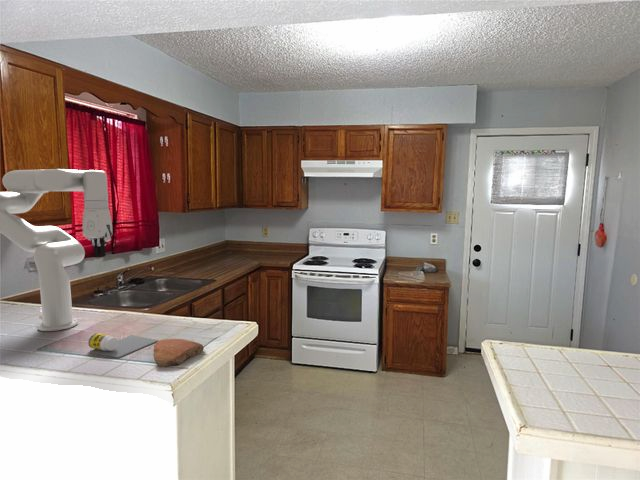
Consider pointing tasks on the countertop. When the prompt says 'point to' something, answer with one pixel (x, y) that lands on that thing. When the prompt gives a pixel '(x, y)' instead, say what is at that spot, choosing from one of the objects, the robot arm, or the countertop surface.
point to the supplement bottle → (102, 342)
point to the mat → (126, 346)
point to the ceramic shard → (175, 351)
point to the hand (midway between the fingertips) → (100, 256)
